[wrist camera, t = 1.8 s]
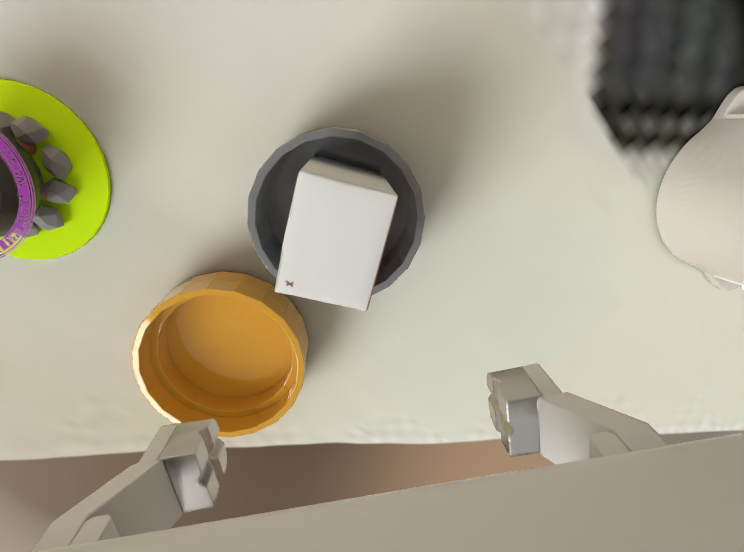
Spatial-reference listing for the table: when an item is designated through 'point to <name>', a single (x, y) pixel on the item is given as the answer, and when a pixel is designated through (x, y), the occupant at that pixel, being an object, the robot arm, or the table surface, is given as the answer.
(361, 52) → the table surface
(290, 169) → the pot
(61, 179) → the toy cauldron
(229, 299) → the bowl
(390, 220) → the small box
